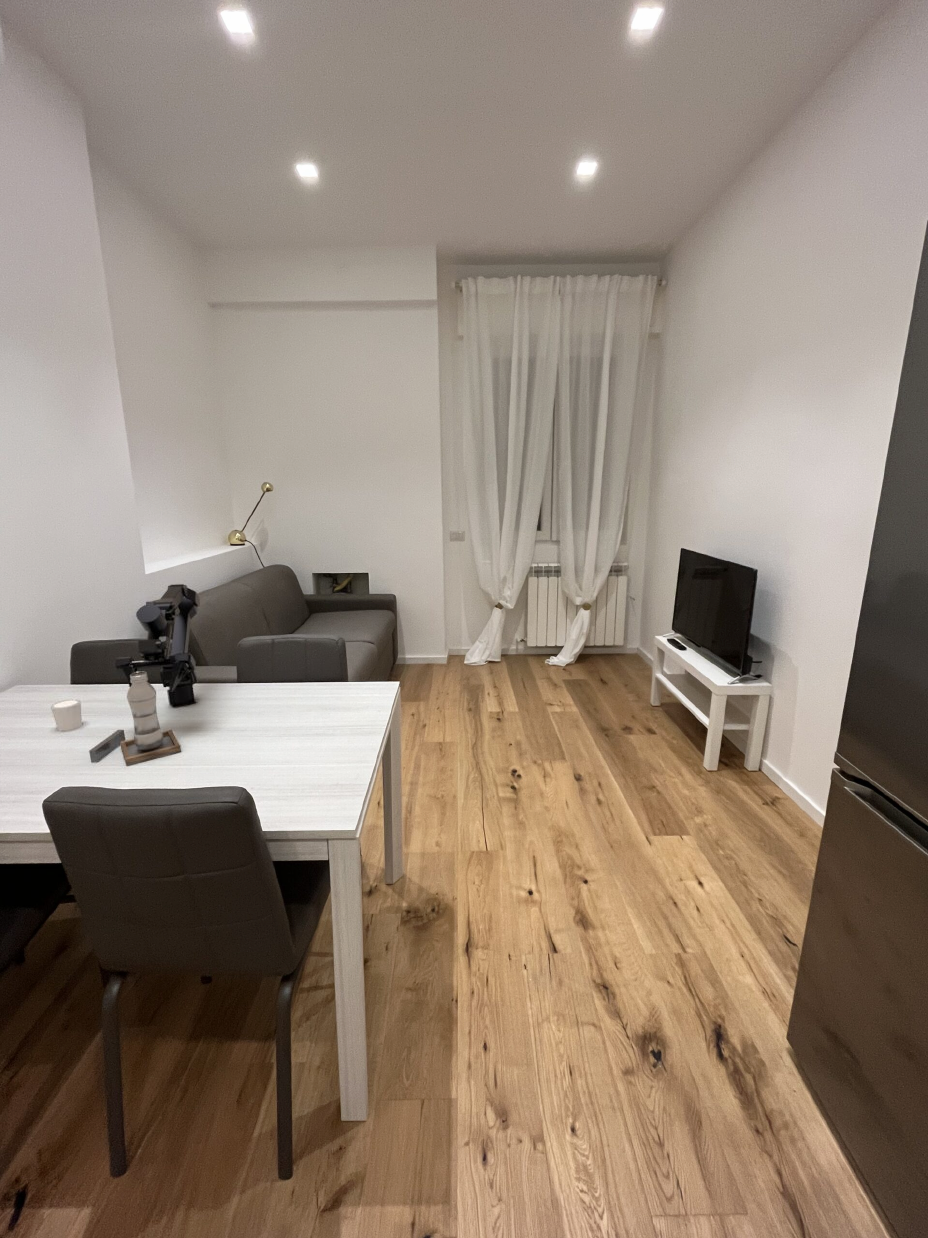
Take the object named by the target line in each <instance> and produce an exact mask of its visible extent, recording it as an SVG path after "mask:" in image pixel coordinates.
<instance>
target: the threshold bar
mask: <svg viewBox="0 0 928 1238" xmlns="http://www.w3.org/2000/svg"><path fill="white" fill-rule="evenodd" d="M121 741H126V735H125V730H124V729H117V730H116V731H114V732H113V733H112V734H111V735H109V736H108V737H106V738H104V739H103V740H102V741H101V742H99V743H98V744H97V745H95V746H94V747H92V748H91V749H90V750H88V752H89V758H90V762H91V763H97V762H99V761H101V760H102V759H103V758H104V757H106V756H107V755H108V754H109V753H111V752H112V751H113V750H115V749H116V748H117V747H119V746H121V745H120V742H121Z"/></svg>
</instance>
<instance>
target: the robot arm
mask: <svg viewBox="0 0 928 1238" xmlns="http://www.w3.org/2000/svg"><path fill="white" fill-rule="evenodd" d="M200 605H201V601H200V597H199V595H198V593H197V591H196V590H194V589H191V588H189V587H188V585H186V584H184V583H181V584H179V583H176V584H175V583H174V584H170V585H168V586H167V589H166V591H165V592H164V594H163V595H162V596H161V598H159V599H155V600H151V601H146V602H145V605H142V606H141V607H140V608H139V609H137V611H136V614H135V615H136V616H135V617H136V619H137V620H138V621H139V624H140V625H141V626H142V628H143V630H144V631H145V632H147V635H146V636H147V637H146V639H143V640H141V639H140V640H138V641H137V654H140V657H141V659H143V660H138V661H137V660H134V658H133V657H132V656H124V657H123V656H121V657H116V658H114V659H115V660H113V665H112V667H113V668H114V669H115V671H116V672H117V673H118V674H119V675H120V676H124V678H126V679H127V683H128V687H129V688H130V687H131V685H132V683H131V682H130V680H131V679H130V675H131V674H132V673H135V672H138V669H146V668H147V669H149V668H161V669H160V671H159V675H160V679H161V683H162V687H163V688H168V689H166V693H167V698H168V704H169V705H170V706H172V708H174V709H175V708H178V707H179V708H180V707H183V706H188V705H193V704H196V703H197V701H196V700H195V695H194V685H195V684H197V683H198V677H197V673H196V671H195V670H196V660H195V658H194V656H193V655H192V654H191V653H190V652H188V650H189V643H190V631H191V622H192V619H193V618H194V617H195V616H196V615H197V614H198V610H199V609H198V608H199V607H200ZM169 622H173V624H174V625H173V627H172V625H171V624H170V623H169ZM172 628H173V629H172ZM172 630H173V631H172ZM171 637H172V638H171ZM171 639H172V641H171ZM170 646H171V647H170Z"/></svg>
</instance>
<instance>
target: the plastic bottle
mask: <svg viewBox="0 0 928 1238" xmlns="http://www.w3.org/2000/svg"><path fill="white" fill-rule="evenodd" d="M130 679H131V680H130V682H131V683H132V685H131V687H129V689H128V690H127V692H126V699H127V702H128V705H129V707H130V710H131V711H130V712H131V714H132V719H133V730H134V734H133V739H134V742H135V745H136V747H137V748H138V749H139V750H151V749H155V748H157V747H159V746H160V745H161V744H162V742H163V733H162V732H163V730H162V728H161V726H160V725H161V724H160V722H159V717H158V712H157V691H156V689H155V687H154V686H153V685H152V684H151V683H150V682H148V680H149V677H148V673H147V671H143V670H142V671H137V672H135V673H132V674H131V675H130Z"/></svg>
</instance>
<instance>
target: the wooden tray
mask: <svg viewBox="0 0 928 1238" xmlns="http://www.w3.org/2000/svg"><path fill="white" fill-rule="evenodd" d="M162 733H163V742H162V744H161V745H160V746H159V747H157V748H155V749H151V750H139V749H138V748H137V747H136V745H135V742H134V738H131V739H130V738H129V739H125V741H121V742H120V745H119V746H120V749H121V753H122V755H123V759H124V762H125V766H126V767H127V766H132V764H133V765H136V764H140V763H144V762H147V761H151V760H155V759H158V758H162V757H166V756H171V755H175V754H178V753H181V752H182V748H181V744H180V742H179V741H178V738H177V737H176V735H175V734H174V732H173V730H172V729H169V730H165V731H162Z"/></svg>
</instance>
